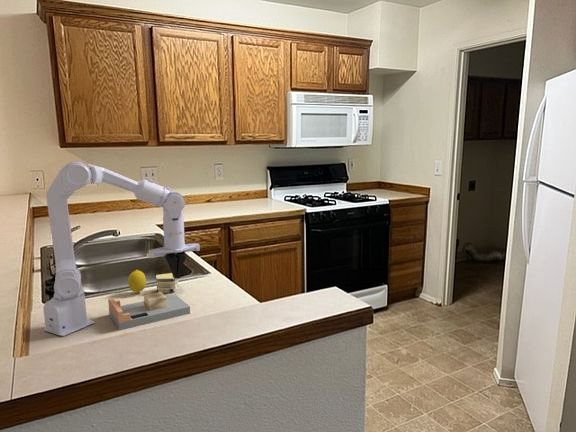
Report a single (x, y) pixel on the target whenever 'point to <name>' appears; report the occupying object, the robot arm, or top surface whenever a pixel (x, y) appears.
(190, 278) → the top surface
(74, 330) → the robot arm
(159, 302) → the birch block
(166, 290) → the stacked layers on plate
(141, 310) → the slate board
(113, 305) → the terracotta end wall
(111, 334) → the top surface
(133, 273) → the lemon
